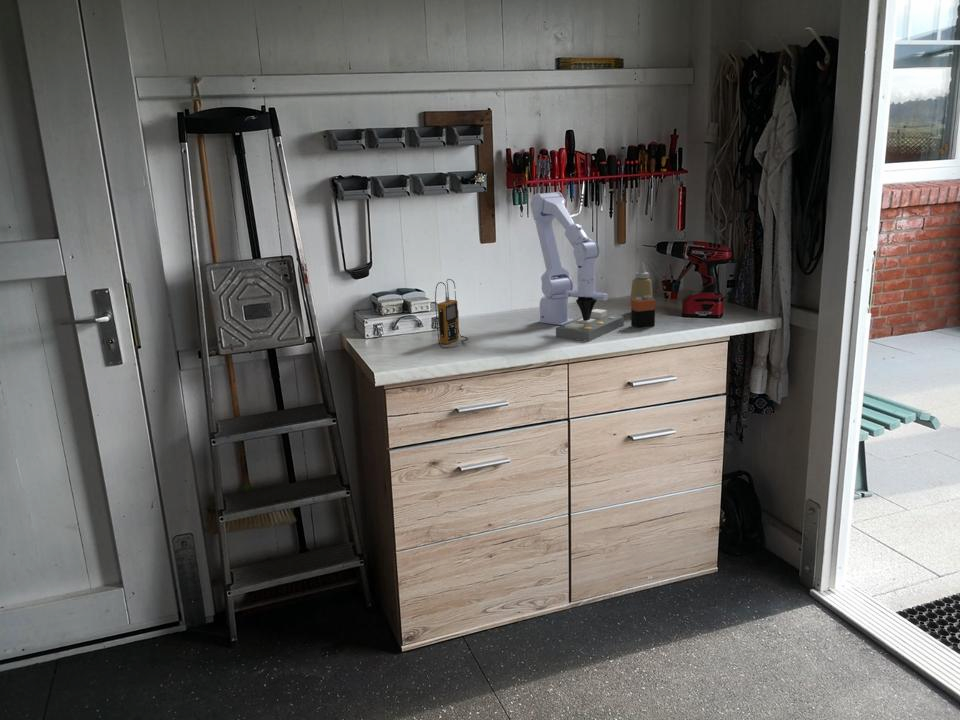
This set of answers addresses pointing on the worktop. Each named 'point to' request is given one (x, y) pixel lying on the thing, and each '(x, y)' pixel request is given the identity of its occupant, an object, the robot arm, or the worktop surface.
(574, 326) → the button
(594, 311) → the button
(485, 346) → the worktop surface
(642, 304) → the battery
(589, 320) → the button
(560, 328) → the button panel
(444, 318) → the multimeter
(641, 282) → the squeeze bottle
